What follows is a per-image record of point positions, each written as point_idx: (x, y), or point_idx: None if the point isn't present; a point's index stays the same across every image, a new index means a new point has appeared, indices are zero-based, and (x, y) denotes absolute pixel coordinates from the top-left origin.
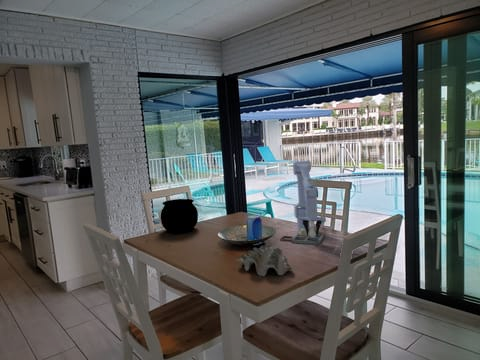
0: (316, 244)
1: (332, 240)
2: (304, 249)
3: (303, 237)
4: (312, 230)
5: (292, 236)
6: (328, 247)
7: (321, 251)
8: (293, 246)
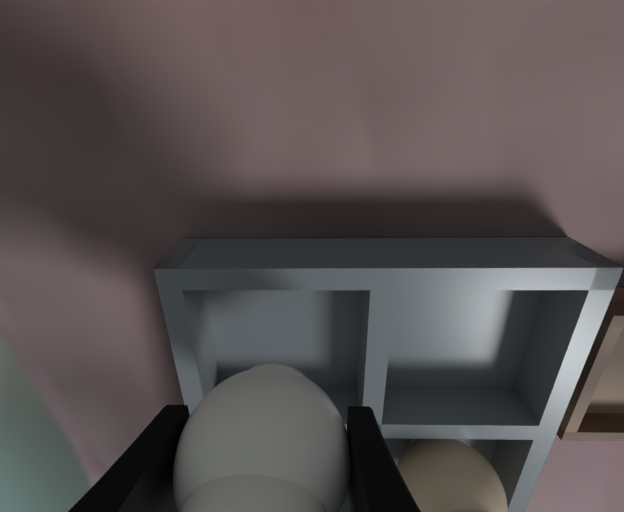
0: (202, 249)
1: None
2: (340, 42)
3: (429, 417)
4: (228, 481)
5: (581, 438)
6: (50, 234)
7: (44, 10)
8: (536, 156)
